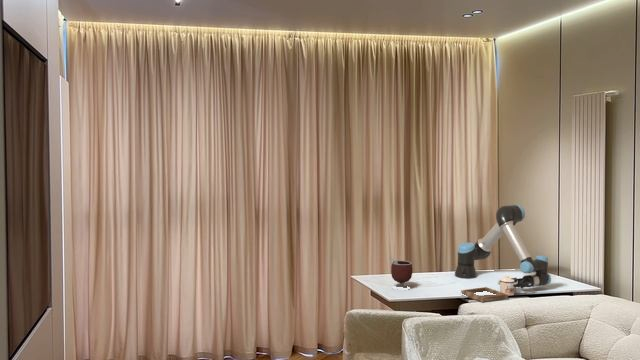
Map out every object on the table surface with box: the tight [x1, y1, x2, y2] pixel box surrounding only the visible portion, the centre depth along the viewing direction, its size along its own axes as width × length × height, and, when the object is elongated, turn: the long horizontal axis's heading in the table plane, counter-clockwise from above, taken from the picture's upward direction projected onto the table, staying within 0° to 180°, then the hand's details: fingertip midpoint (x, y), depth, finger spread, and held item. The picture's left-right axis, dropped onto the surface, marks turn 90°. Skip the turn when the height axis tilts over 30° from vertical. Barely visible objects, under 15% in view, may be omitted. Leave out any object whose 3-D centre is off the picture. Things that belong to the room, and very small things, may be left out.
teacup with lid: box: [499, 275, 517, 297], centre depth 384 cm, size 12×9×12 cm
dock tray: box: [460, 286, 509, 304], centre depth 376 cm, size 20×20×3 cm
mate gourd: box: [390, 256, 413, 288], centre depth 396 cm, size 16×14×20 cm
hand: (503, 284), depth 382 cm, fingers closed on teacup with lid, 9 cm apart
